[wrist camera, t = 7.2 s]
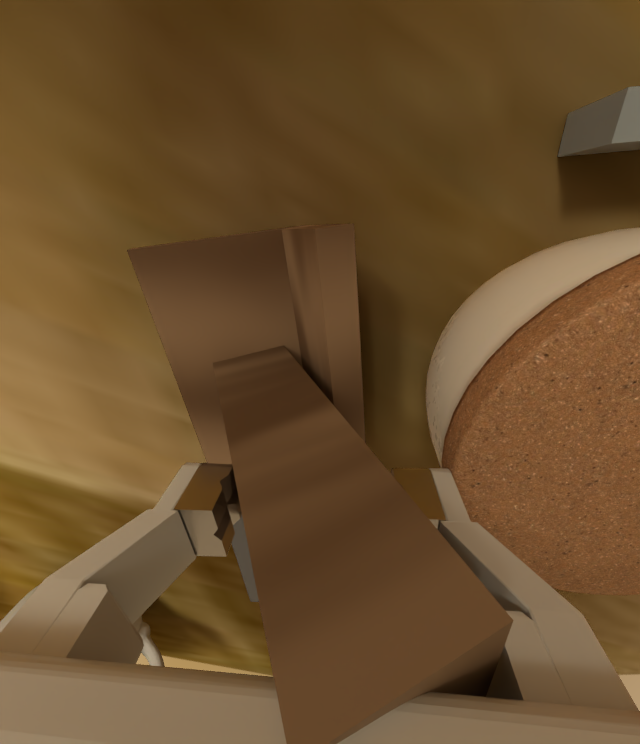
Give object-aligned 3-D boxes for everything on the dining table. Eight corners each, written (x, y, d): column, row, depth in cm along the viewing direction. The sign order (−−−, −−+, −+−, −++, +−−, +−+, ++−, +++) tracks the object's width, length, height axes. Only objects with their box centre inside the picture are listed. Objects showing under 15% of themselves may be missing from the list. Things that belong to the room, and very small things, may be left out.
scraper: (131, 248, 11) (-854, 589, 1) (303, 225, 12) (804, 206, 2) (220, 489, 16) (277, 920, 6) (330, 449, 18) (515, 730, 8)
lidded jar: (404, 445, 17) (463, 664, 9) (394, 240, 12) (504, 300, 4) (617, 428, 16) (925, 670, 7) (699, 189, 11) (1855, 113, 3)
